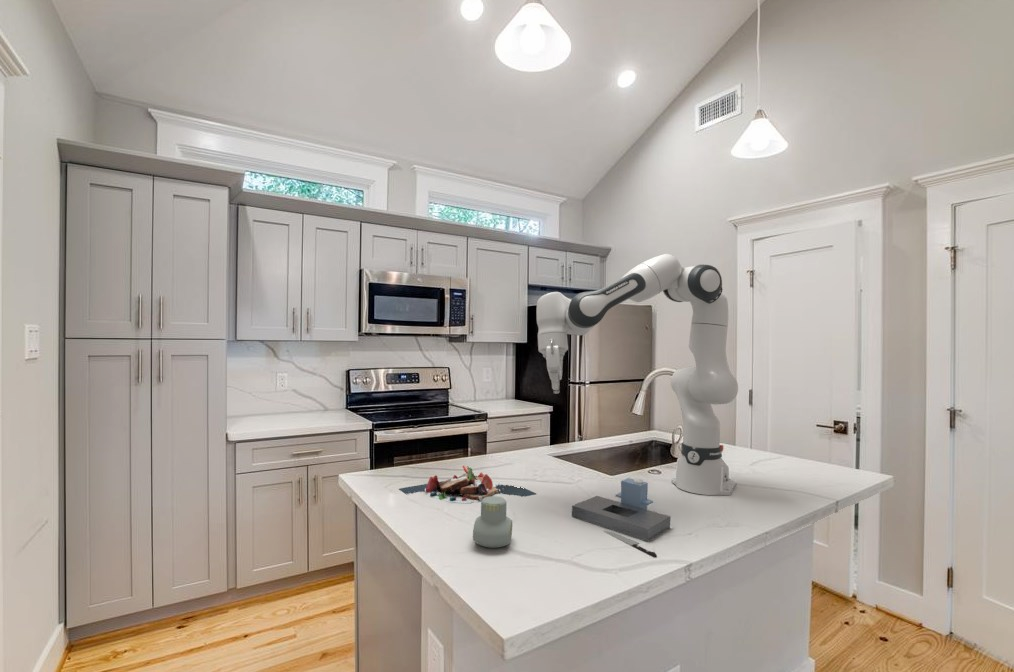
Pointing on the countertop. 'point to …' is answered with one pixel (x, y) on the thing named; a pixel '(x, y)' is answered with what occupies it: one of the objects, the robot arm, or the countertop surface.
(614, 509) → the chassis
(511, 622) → the countertop surface
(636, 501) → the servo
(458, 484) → the platter
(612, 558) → the countertop surface
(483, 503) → the air freshener
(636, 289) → the robot arm
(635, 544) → the chef's knife
